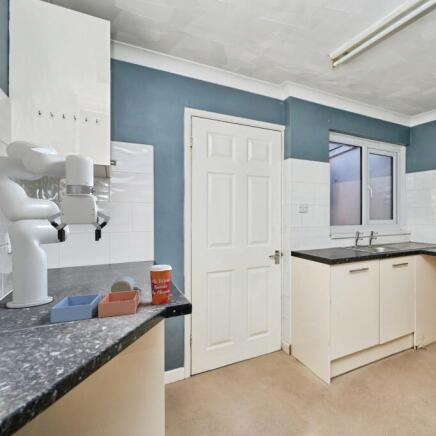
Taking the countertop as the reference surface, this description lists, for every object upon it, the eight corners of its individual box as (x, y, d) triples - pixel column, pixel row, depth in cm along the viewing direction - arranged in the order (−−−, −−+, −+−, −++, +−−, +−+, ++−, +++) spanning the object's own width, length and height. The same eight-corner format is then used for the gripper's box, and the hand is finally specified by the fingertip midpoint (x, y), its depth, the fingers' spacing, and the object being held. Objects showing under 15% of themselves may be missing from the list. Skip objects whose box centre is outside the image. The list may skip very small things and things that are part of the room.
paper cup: (148, 306, 114) (148, 268, 114) (149, 301, 121) (149, 265, 120) (172, 303, 117) (172, 266, 117) (172, 298, 124) (172, 263, 124)
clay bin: (107, 304, 116) (107, 292, 116) (139, 301, 120) (139, 289, 120) (98, 317, 101) (98, 303, 101) (135, 313, 106) (135, 300, 106)
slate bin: (66, 309, 110) (66, 296, 110) (101, 305, 115) (101, 293, 115) (50, 323, 96) (50, 308, 96) (91, 318, 100) (91, 304, 100)
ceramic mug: (109, 299, 123) (110, 279, 123) (114, 294, 131) (114, 276, 131) (140, 296, 128) (141, 278, 128) (143, 292, 135) (143, 274, 135)
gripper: (112, 193, 115) (112, 239, 115) (51, 191, 107) (51, 241, 107) (108, 191, 108) (108, 241, 108) (43, 189, 100) (43, 243, 100)
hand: (80, 241), depth 107 cm, fingers open, 9 cm apart
